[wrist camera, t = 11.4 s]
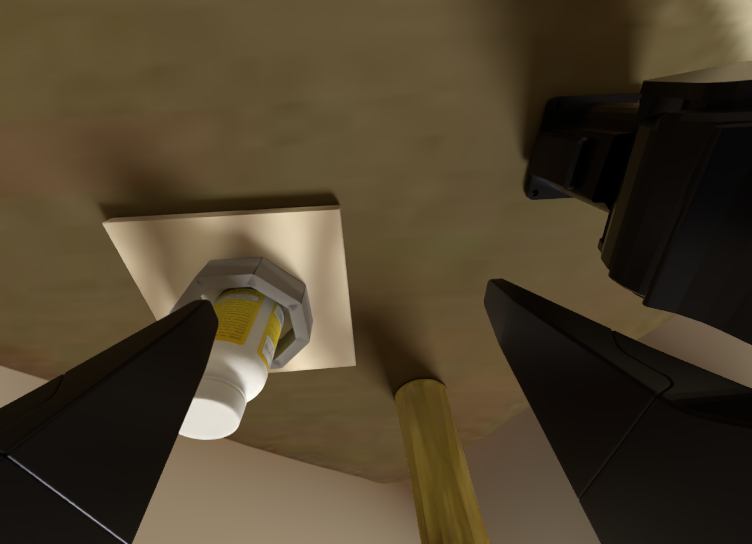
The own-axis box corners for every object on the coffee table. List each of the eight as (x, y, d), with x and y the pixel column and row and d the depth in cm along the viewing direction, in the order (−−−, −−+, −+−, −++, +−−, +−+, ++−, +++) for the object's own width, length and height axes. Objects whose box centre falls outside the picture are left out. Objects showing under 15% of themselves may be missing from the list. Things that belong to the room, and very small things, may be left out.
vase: (434, 413, 35) (478, 579, 23) (387, 408, 34) (407, 580, 22) (455, 381, 32) (517, 551, 20) (404, 374, 31) (438, 551, 19)
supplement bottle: (204, 304, 23) (121, 419, 15) (249, 267, 22) (185, 372, 14) (256, 340, 26) (211, 457, 17) (300, 309, 24) (273, 420, 16)
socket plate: (340, 204, 21) (338, 222, 18) (355, 357, 29) (356, 387, 26) (112, 217, 20) (71, 238, 17) (195, 370, 29) (176, 402, 26)
